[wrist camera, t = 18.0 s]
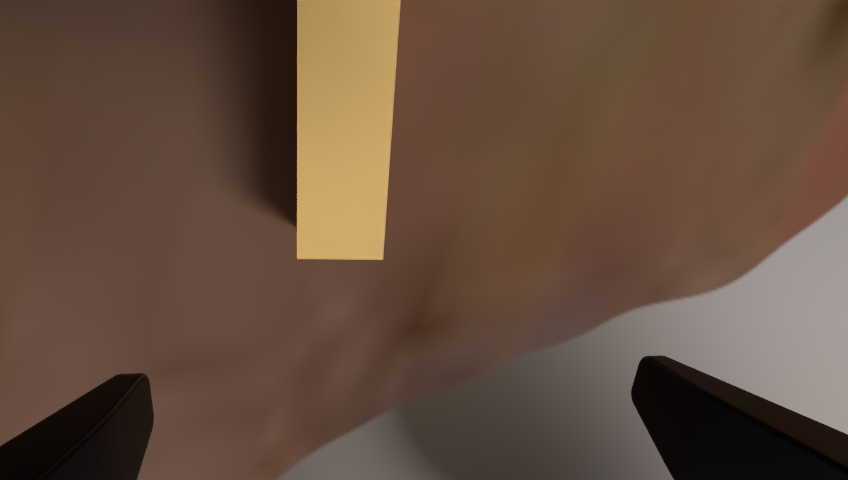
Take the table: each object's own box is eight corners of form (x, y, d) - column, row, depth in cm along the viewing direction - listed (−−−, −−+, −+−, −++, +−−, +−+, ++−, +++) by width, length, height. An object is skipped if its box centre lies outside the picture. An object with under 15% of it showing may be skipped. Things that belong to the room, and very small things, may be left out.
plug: (429, -257, 14) (469, -384, 10) (392, 232, 20) (409, 277, 16) (277, -294, 13) (254, -452, 9) (282, 229, 19) (269, 276, 15)
